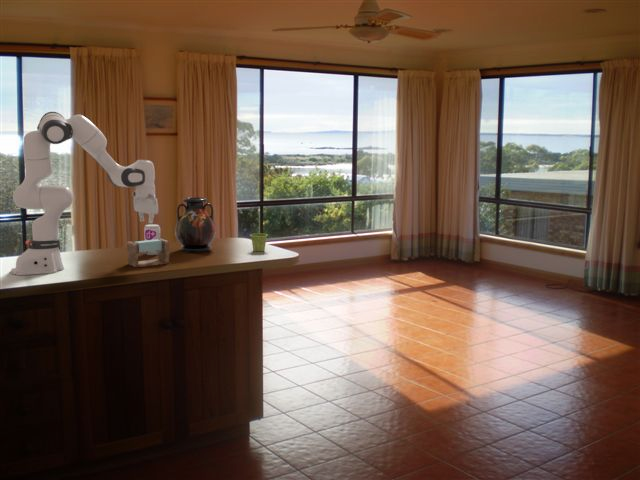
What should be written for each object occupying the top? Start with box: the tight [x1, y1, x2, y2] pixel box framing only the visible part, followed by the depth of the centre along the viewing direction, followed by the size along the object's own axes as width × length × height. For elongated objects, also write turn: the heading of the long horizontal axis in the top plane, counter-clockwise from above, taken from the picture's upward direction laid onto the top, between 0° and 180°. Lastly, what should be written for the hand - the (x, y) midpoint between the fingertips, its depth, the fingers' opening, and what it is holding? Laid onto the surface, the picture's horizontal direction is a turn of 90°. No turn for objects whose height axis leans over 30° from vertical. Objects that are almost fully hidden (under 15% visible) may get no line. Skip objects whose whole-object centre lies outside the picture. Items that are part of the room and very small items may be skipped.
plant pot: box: [249, 233, 268, 252], centre depth 371 cm, size 9×9×9 cm
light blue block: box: [133, 239, 162, 253], centre depth 333 cm, size 5×12×4 cm, turn 132°
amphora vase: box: [174, 196, 217, 254], centre depth 369 cm, size 22×22×28 cm
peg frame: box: [126, 238, 170, 268], centre depth 333 cm, size 17×9×11 cm, turn 126°
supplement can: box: [143, 223, 162, 256], centre depth 359 cm, size 8×8×15 cm
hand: (146, 222), depth 333 cm, fingers open, 8 cm apart
